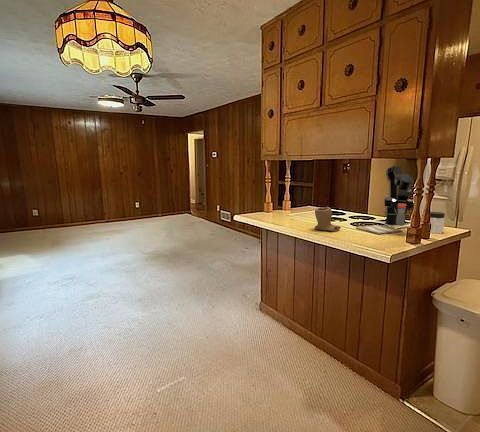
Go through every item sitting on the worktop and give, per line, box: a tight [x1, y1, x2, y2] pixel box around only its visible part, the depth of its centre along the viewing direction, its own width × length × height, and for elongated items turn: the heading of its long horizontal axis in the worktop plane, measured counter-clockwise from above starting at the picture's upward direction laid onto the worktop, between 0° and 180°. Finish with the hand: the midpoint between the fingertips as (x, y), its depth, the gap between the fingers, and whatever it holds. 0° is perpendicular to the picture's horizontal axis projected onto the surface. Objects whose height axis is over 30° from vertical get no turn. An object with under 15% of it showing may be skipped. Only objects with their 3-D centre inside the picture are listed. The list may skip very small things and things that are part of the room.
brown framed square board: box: [355, 224, 403, 236], centre depth 189 cm, size 19×19×2 cm
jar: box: [430, 211, 446, 234], centre depth 182 cm, size 9×8×12 cm
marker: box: [396, 203, 407, 226], centre depth 174 cm, size 4×4×12 cm
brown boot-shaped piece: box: [314, 206, 342, 232], centre depth 189 cm, size 15×12×15 cm
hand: (401, 214), depth 173 cm, fingers closed on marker, 4 cm apart
